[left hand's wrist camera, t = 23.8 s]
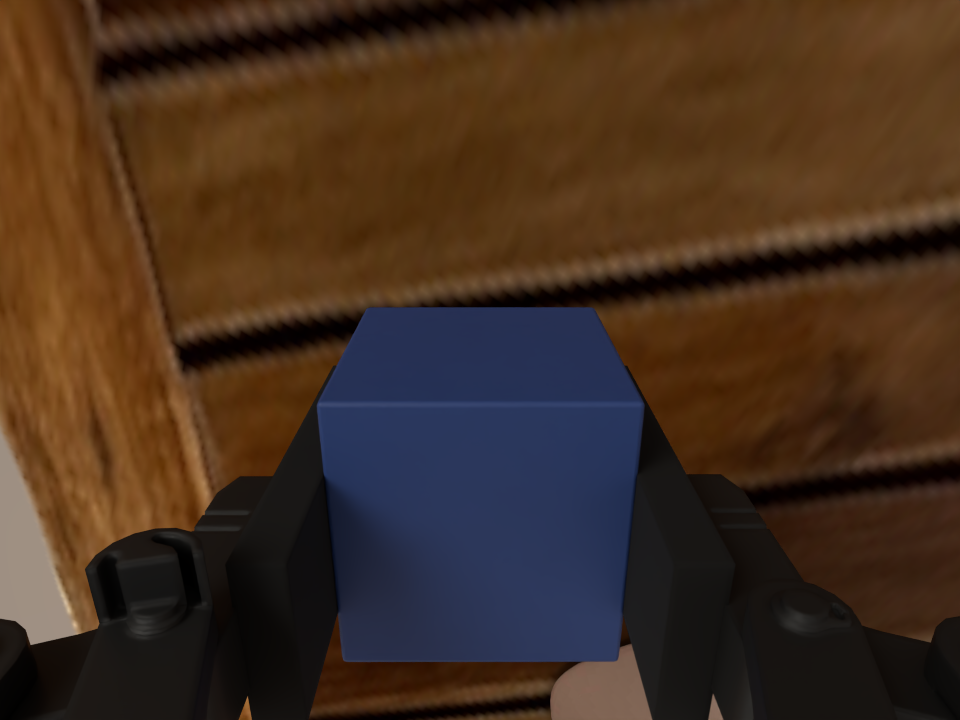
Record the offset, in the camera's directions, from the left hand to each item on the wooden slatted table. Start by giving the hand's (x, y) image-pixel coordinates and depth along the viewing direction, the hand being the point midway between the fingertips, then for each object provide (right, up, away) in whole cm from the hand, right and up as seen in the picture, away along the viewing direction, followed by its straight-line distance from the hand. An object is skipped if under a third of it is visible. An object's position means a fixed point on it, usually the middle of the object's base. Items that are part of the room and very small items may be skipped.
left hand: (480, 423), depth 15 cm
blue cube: (0, 0, 0) cm, 0 cm away
